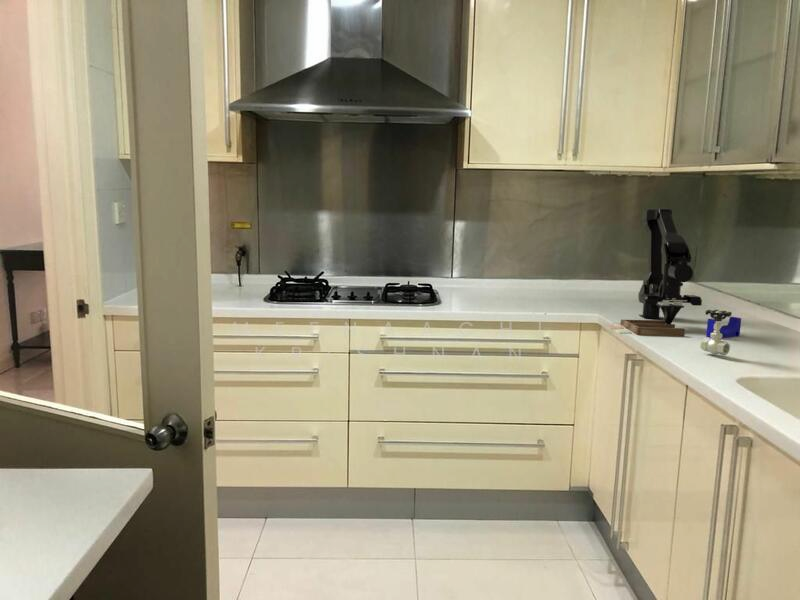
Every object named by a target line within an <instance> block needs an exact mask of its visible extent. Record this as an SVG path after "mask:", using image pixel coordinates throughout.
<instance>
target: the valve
mask: <svg viewBox="0 0 800 600" xmlns="http://www.w3.org/2000/svg"><path fill="white" fill-rule="evenodd" d="M705 315H707V316H708V315H709V316H710V318H711V319H714V321H716V324H714V329H715V330H714V331H713V333H711V335H710V337H712V338H709V337H704V338H703V339H702V340H701V342H700V349H701V350H703V351H704V352H708V353H710V354H713V355H718V354H719V355H721V356H727V355H728V354H729V353H730V351H731V345H730V343H729V342H727V341H725V340H724V341H723V340H722V339H723V338H722V334H721V333H720V331H719V330H720V328H721V327H722V325H721V324H720V322H722V321H723V320H726V318H730V317H732V311H727V310H719V309H714V310H712V309H707V310H705Z"/></svg>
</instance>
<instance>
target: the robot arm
mask: <svg viewBox="0 0 800 600" xmlns="http://www.w3.org/2000/svg"><path fill="white" fill-rule="evenodd" d="M641 215H642V216H641V219H642V220H641V221H642V222H643V228H644V230H645V231H646V232H647V234H648V235H647V236H648V237H647V238H648V241H647V246H648V247H647V249H648V251H647V274H646V276H645V278H644V279H643V281H642V285H641V287H640V289H639V292H638V295H637V296H638V298H637V299H638V302H639V303H642V314H638V317H641V318H643V319H644V320H663V319H664V320H665V322H666V324H673V321H674V320H675V318H676V316H677V314H679V312H680V311H681V309H682V308H683V309H684V308H685V305H683V303H684V304H691V306H702V305H703V304H702V301H703V300H702V298H701V296H699V295H695V294H683V295H681V289H682V287H683V285H684V283H686V282H689V281H690V280H692V278H693V275H694V272H693V271H694V270H693V268H692V266H690V265H689V264H688V263H691V259H692V254H691V251H690V248H689V245H688V244H687V241H686V239H685V238H684V237H683V236H682V235H680V234H679V233H678V231H677V227H676V224H675V222H674V219H673V210H672V209H670V207H669V208H667V207H658V208H646V209H645V211H643V212H642V214H641ZM660 310H661V311H662V316H663V317H664V318H663V317H662V316H660V312H661V311H660Z"/></svg>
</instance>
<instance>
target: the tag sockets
mask: <svg viewBox="0 0 800 600" xmlns="http://www.w3.org/2000/svg"><path fill="white" fill-rule="evenodd" d="M608 327H609V328H610V329H615V332H617V333H619V334H627V335H628V334H630V335H632V334H634V335H637V336H655V337H658V336H660V337H685V333H686V328H684V327H676V324H674V323H671V324H666V322H665V319H664V320H663V319H620V325H619V326H618V325H609V326H608Z"/></svg>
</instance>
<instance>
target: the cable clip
mask: <svg viewBox="0 0 800 600" xmlns="http://www.w3.org/2000/svg"><path fill="white" fill-rule="evenodd" d="M714 324H716V321H714V319H713V318H707V324H706V325H707V326H706V335H705V338H710V339H711V338H712V337H710V335H711V333H713V331H714V330H715V329H714ZM741 324H742V318H741V317H737V316H736V317H735V316H730V317H729V320H728V323H727V324H725V325H721V327H720V330H719V331H720V333H721V334H722V338H721V339H723V338H726V339H727V338H733V337H740V335H741Z"/></svg>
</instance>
